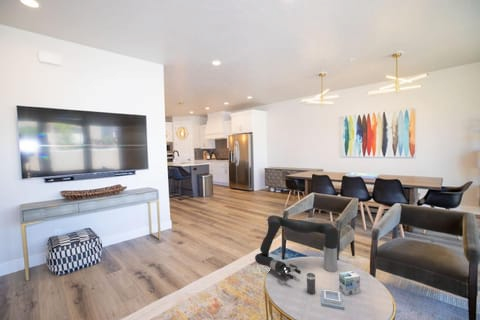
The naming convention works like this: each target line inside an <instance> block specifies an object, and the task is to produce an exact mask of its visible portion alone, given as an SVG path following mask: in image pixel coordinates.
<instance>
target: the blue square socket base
mask: <svg viewBox="0 0 480 320" xmlns="http://www.w3.org/2000/svg"><path fill="white" fill-rule="evenodd" d="M320 291H321V292H320V297H321V299H320V300H321V303H320V304H321V307H327V308H332V309H337V310H341V311H345V304H344V299H343V293H340V291H335V290H331V289H324V290H320Z"/></svg>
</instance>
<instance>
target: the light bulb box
mask: <svg viewBox="0 0 480 320" xmlns="http://www.w3.org/2000/svg"><path fill="white" fill-rule="evenodd" d="M338 285H339V286H338V289H339V290H340V292H341V293H342V294H344V295H345V296H349V295H353V294H355V295H356V294H360V293H361V276H360V275H359V274H358V273H357V272H355V271H354V270H351V271H349V270H348V271H344V272H343V271H342V272H338Z"/></svg>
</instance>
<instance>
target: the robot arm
mask: <svg viewBox="0 0 480 320" xmlns="http://www.w3.org/2000/svg"><path fill="white" fill-rule="evenodd" d="M267 226H268V227H267V233H266V235H265V237H264V238H263V240H262V241H261V245H260V247H259V251H260V253H257V254H255V257H254V260H255V263H257V264H258V265H262V266H265V267H268V268H270V269H272V270H274V271H276V272H277V273H278V276H280V277H282V278H283V279H286V278H287V279H288V278H289V279H291V280H293V279H294V275H293V274H291V273H296V274H298V275H301V274H302V272H301V270H300V269H298V266H296V265H294V264H292V263H289V265H287V264H286V263H285V262H284V261H281V260H279V259H276V258H274V257H272V256H270V250H271V247H272V244H273V241H274V239H275V238H276V236H277V233H278V232H279V230H280V229H281V227H284V228H287V229H289V230H290V231H293V232H295V233H298V234H299V233H300V234H312V233H316V234H317V233H319V234H323V235H324V241H323V268H324V270H326V271H327V272H331V273H333V272H337V271H338V243H339V231H338V229H337V228H336V227H335V226H334V225H333V224H331V223H326V222H325V223H324V222H314V221H308V220H302V219H294V218H287V217H282V216H280V215H274V214H273V215H269V216H268V217H267Z"/></svg>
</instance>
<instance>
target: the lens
mask: <svg viewBox="0 0 480 320" xmlns="http://www.w3.org/2000/svg"><path fill="white" fill-rule="evenodd" d="M306 293H307V294H309V295H315V294H316V275H315V274H314V273H312V272H308V273H306Z"/></svg>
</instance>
